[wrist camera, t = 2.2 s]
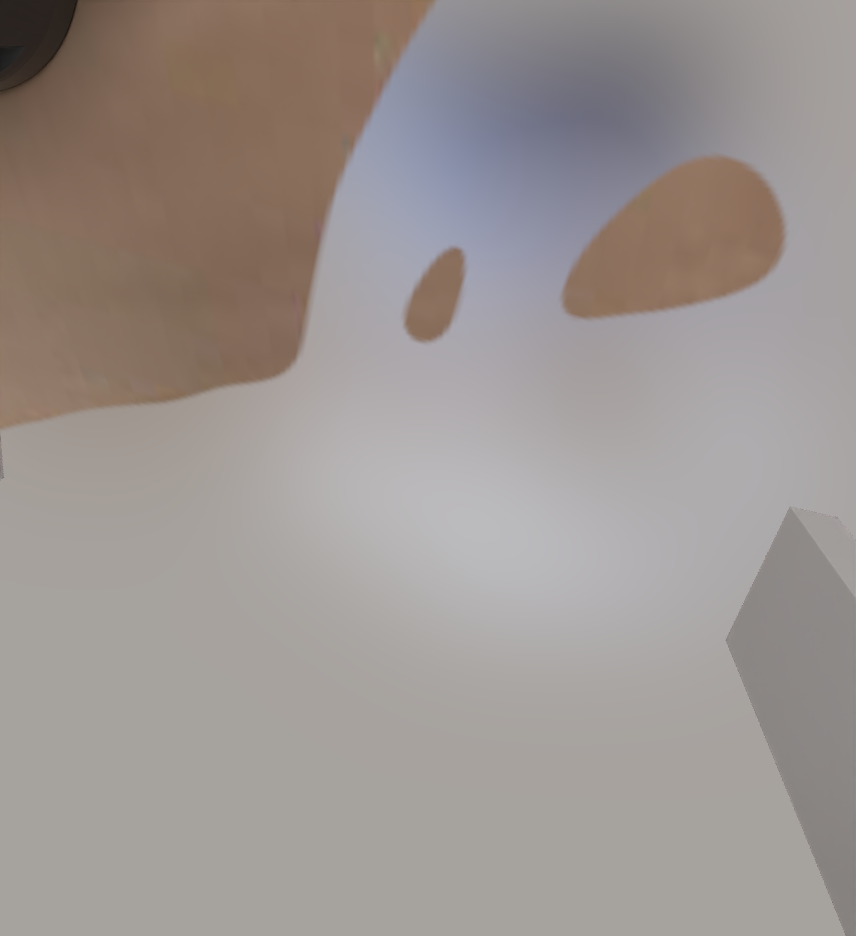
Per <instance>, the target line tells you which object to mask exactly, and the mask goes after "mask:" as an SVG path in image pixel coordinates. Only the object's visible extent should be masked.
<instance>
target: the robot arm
mask: <svg viewBox="0 0 856 936" xmlns="http://www.w3.org/2000/svg"><path fill="white" fill-rule="evenodd" d="M75 2H76V0H0V91H1V90H5V89H8V88H11V87H14V86H16V85H18V84H20V83H22V82H24V81H26V80H27V79H29V78H31V77H32V76H33V75H35V74H36V73H37V72H38V71H39V70H40V69H42V68H43V67H44V66H45V65H46V64H47V62H48V61H49V60H50V59H51V58H52V56H53V55H54V54H55V52H56V51H57V49H58V47H59V46H60V44H61V42H62V40H63V38H64V36H65V34H66V32H67V29H68V27H69V24H70V21H71V18H72V15H73V11H74V7H75ZM3 478H4V476H3V463H2V451H1V439H0V480H1V479H3ZM726 642H727V644H728V647H729V649H730V652H731V654H732V657H733V659H734V662H735V664H736V667H737V669H738V671H739V674H740V676H741V679H742V681H743V684H744V686H745V689H746V691H747V693H748V696H749V699H750V701H751V703H752V706H753V708H754V711H755V713H756V716H757V718H758V721H759V723H760V726H761V728H762V730H763V733H764V735H765V738H766V740H767V743H768V745H769V748H770V750H771V752H772V755H773V758H774V760H775V762H776V765H777V767H778V770H779V772H780V775H781V777H782V780H783V782H784V784H785V787H786V789H787V792H788V794H789V797H790V799H791V802H792V804H793V807H794V809H795V811H796V814H797V817H798V819H799V821H800V824H801V826H802V829H803V831H804V834H805V836H806V838H807V841H808V844H809V846H810V848H811V851H812V853H813V856H814V858H815V861H816V863H817V866H818V868H819V870H820V873H821V876H822V878H823V880H824V883H825V885H826V888H827V890H828V893H829V895H830V897H831V900H832V903H833V905H834V908H835V910H836V912H837V915H838V917H839V920H840V922H841V925H842V927H843V930H844V932H845V935H846V936H856V540H855V538H854V537H853V536H852V535H851V533H850V532H849V531H848V530H847V529H846V527H845V526H844V525H843V524H842V522H841V521H840V520H839V519H838V517H834V516H830V515H825V514H821V513H816V512H812V511H807V510H803V509H798V508H794V507H790V508H789V510H788V512H787V514H786V516H785V518H784V520H783V522H782V524H781V526H780V529H779V531H778V533H777V535H776V537H775V539H774V541H773V543H772V545H771V547H770V549H769V552H768V553H767V555H766V558H765V560H764V562H763V564H762V566H761V568H760V570H759V572H758V574H757V576H756V578H755V580H754V582H753V584H752V587H751V589H750V591H749V593H748V595H747V597H746V599H745V601H744V603H743V605H742V607H741V609H740V611H739V614H738V616H737V618H736V620H735V622H734V624H733V626H732V628H731V630H730V632H729V634H728V636H727V639H726Z"/></svg>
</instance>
